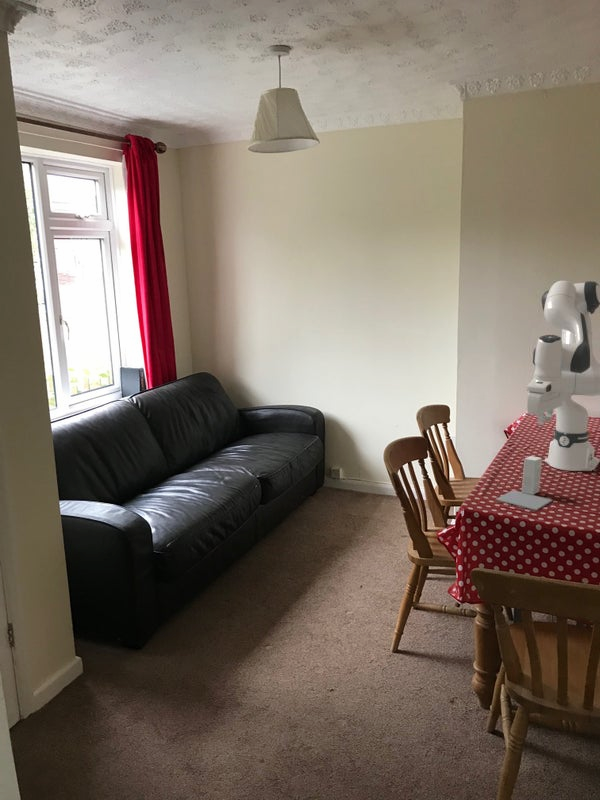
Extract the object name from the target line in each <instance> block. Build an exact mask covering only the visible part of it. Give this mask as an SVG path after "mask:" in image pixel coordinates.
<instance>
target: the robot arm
mask: <svg viewBox="0 0 600 800" xmlns="http://www.w3.org/2000/svg"><path fill="white" fill-rule="evenodd" d="M599 306H600V284H598V283H597V282H596V281H588V280H587V281H585V282H577V283H572V282H571V281H569V280H558V281H556V282H554V284H552V285H551V287H550V289H549V290H548V289H547V290H546V291H545V292H544V293H543V294H542V296H541V308H542V310H543V313H544V314H543V315H544V319H545V320H546V322H547V323H548V324H549V325H551V326H552V327H554V328H556V329H559V330H561V336H559V335H556V334H555V335H554V334H544V335H541V336H539V338H538V339H537V343H536V347H535V348H534V349H533V357H532V364H533V365H534V366H535V369H534V373H533V378H532V379H531V381H530V382H529V383H528V384H527V386H526V391H528V393H527V398H526V401H527V402H526V410H527V414H529V415H533V416H536V418H537V420H538V421H537V424H538V425H539V426H543V425H545V423H551V422H552V417H553V414H554V412H555V413H556V416H555V417H556V418H555V420H556V421H555V428H554V431H553V438H554V439H553V440H551V441H550V442H549V451H548V456H547V457H545V459H544V462H545V463H547V464H548V465H549V466H551V467H552V468H553V469H554V468H555V469H557V470H558V469H559V470H563V471H573V472H577V471H578V472H579V471H580V472H582V471H583V472H587V471H590V472H592V470H594V471H595V470H596V468H597V467H598V465H599V463H600V458H598V457H595V447H594V446H593V445H592V444H591V442H590V440H589V436H590V435H591V431H592V430H591V429H588V420H589V411H588V409H586V408H585V407H584V406H583V405H581V404H580V403H578V402H576V401H574V400H573V399H572V396H588V397H589V396H590V397H595V396H600V362H599V361H598V360H597V359H596V357H595V355H594V352H593V351H594V349H593V326H592V319H591V316H590V315H593V314H595V312H596V310H597V309H598V308H599ZM554 410H555V411H554Z"/></svg>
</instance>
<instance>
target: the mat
mask: <svg viewBox="0 0 600 800" xmlns="http://www.w3.org/2000/svg"><path fill="white" fill-rule="evenodd" d="M496 500H497V502H499V501H501V502H500V503H503V502H505V503H504V504H507V503H509V504H508V505H511V504H513V505H512V506H515V505H516V506H515V507H519V508H523V509H526V508H527V510H531V511H535V512H536V511H538V510H540V509H542V508H544V507H545V506H546V505H548V504H551V503H552V502H553V499H551V498H547V497H543V496H538V495H535V494H534V495H531V494H526V493H522V491H518V490H513V489H512V490H510V491H508V492H506V493H505V494H503V495H501V496H499V497H497V498H495V501H496Z"/></svg>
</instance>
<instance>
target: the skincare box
mask: <svg viewBox="0 0 600 800" xmlns="http://www.w3.org/2000/svg"><path fill="white" fill-rule="evenodd" d="M542 463H543V458H542V457H539V456H538V457H537V456H532V455H529V456H528V457H525V458H524V462H523V473H522V483H521V492H522V493H526V494H531V495H535V494H537V493H540V487H541V486H540V485H541V484H540V483H541V476H542V475H541V474H542Z"/></svg>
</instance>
